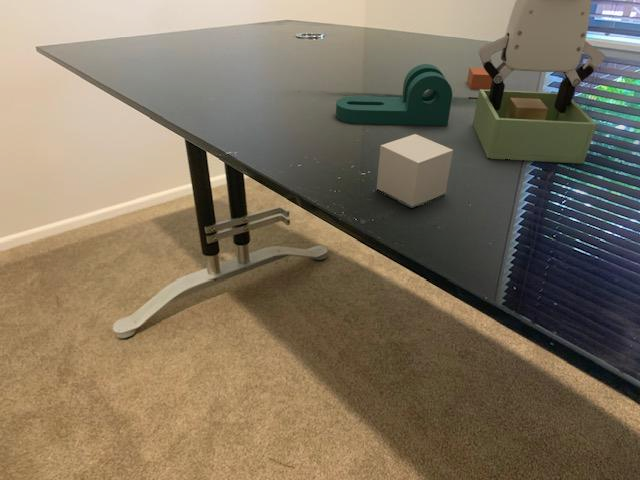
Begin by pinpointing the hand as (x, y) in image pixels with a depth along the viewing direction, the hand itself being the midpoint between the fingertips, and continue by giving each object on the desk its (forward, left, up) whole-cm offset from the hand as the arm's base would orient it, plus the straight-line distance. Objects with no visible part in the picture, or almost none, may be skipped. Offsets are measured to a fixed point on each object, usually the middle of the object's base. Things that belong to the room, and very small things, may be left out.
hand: (527, 108), depth 76 cm
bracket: (+20, -6, -5) cm, 21 cm away
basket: (0, +3, -4) cm, 5 cm away
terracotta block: (+3, -19, -4) cm, 20 cm away
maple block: (0, 0, -4) cm, 4 cm away
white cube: (+18, +21, -5) cm, 28 cm away
